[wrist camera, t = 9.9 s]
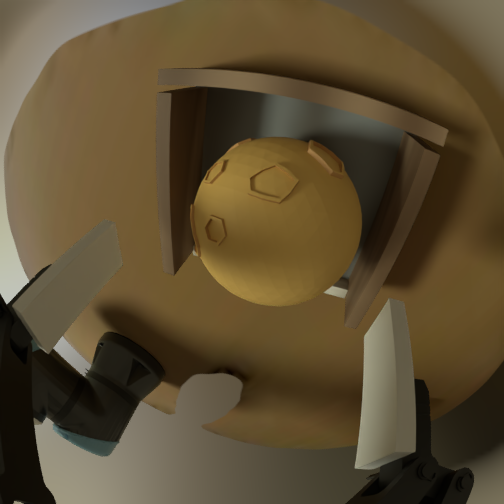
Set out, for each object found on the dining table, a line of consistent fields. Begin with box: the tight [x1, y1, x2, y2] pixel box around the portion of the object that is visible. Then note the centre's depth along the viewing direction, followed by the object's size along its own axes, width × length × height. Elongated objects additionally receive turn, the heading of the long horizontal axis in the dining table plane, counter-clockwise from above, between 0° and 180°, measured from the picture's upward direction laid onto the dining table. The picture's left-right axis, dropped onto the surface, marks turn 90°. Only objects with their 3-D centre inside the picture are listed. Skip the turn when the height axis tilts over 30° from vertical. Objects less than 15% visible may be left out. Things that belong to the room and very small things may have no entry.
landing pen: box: [156, 68, 448, 329], centre depth 18 cm, size 16×16×6 cm
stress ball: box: [190, 137, 362, 306], centre depth 16 cm, size 10×10×10 cm
